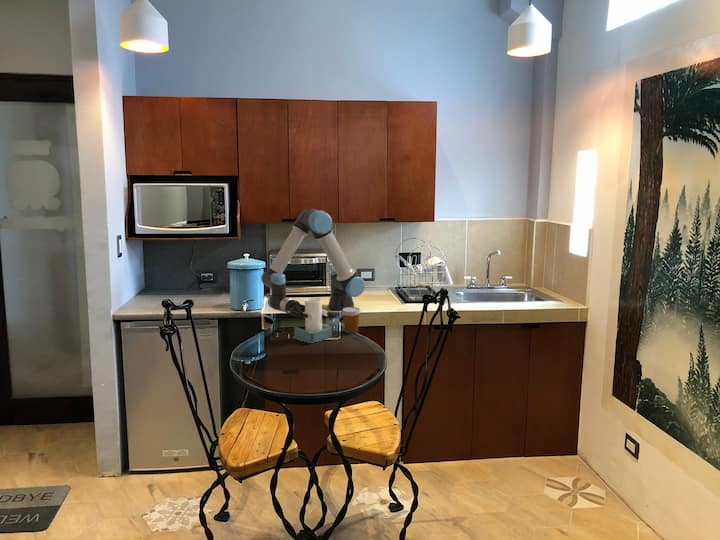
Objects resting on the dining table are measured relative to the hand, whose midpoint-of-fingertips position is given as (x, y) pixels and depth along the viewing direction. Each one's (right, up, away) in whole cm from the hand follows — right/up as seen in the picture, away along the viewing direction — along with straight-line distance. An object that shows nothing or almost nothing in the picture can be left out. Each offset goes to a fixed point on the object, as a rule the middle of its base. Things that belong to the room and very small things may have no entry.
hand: (319, 315), depth 275 cm
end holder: (-3, -11, +6) cm, 13 cm away
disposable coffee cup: (+15, -10, +13) cm, 22 cm away
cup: (-3, -8, +5) cm, 10 cm away
